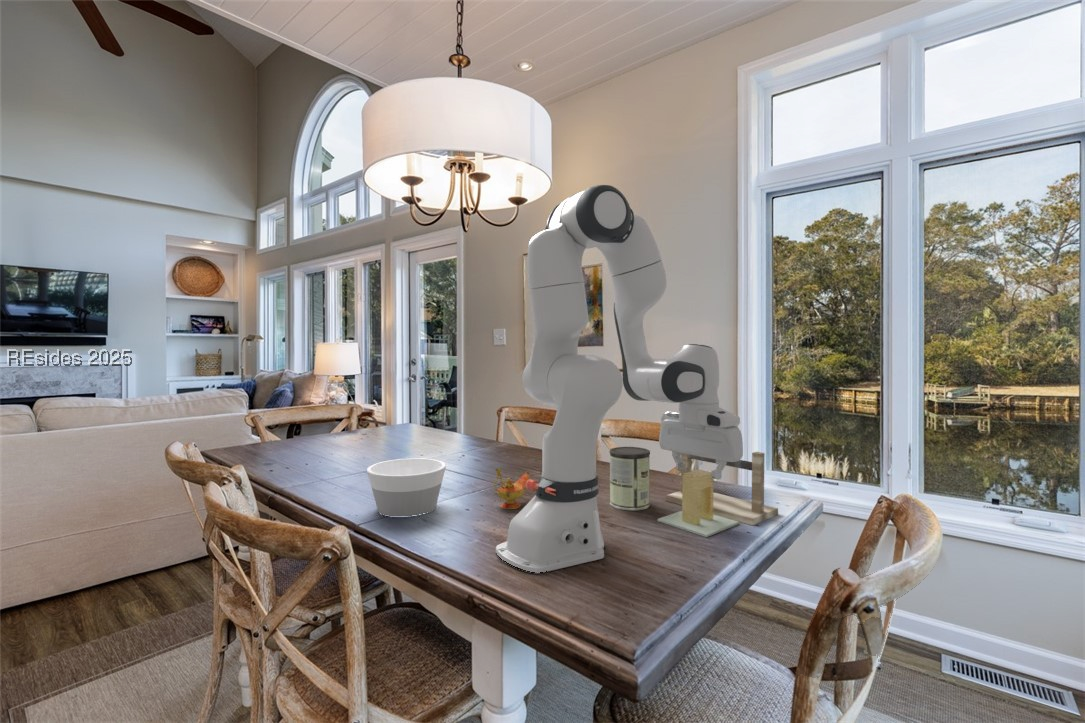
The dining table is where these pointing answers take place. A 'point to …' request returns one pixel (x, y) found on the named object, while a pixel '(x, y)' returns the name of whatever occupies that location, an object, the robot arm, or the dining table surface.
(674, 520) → the mat
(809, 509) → the dining table surface
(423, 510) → the bowl
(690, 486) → the tan upright block
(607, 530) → the dining table surface
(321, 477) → the dining table surface
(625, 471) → the coffee can
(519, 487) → the magic lamp
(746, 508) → the stand
